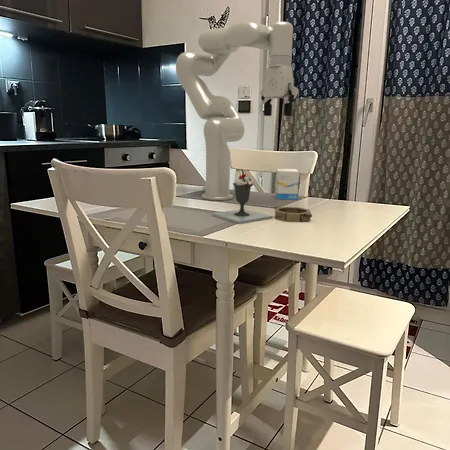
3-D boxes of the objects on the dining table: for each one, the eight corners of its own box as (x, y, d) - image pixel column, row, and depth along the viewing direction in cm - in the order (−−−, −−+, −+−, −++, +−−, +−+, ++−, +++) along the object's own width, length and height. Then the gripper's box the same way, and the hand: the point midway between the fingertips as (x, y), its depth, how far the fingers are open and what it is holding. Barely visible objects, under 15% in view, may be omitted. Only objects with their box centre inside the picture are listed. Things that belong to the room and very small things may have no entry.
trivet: (211, 215, 142) (211, 213, 142) (244, 211, 150) (244, 208, 150) (239, 224, 131) (239, 221, 131) (272, 218, 140) (272, 216, 139)
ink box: (297, 200, 174) (299, 170, 171) (276, 199, 174) (278, 170, 171) (294, 196, 182) (296, 168, 179) (274, 196, 182) (276, 168, 179)
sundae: (235, 217, 136) (237, 169, 133) (228, 213, 143) (229, 167, 139) (255, 216, 138) (257, 169, 135) (247, 212, 145) (249, 167, 141)
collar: (264, 215, 143) (264, 208, 143) (287, 212, 150) (288, 204, 149) (297, 224, 132) (297, 216, 131) (321, 220, 139) (322, 212, 138)
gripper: (254, 64, 149) (252, 115, 153) (291, 59, 136) (288, 115, 140) (269, 66, 153) (267, 116, 157) (307, 61, 140) (303, 116, 144)
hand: (277, 115), depth 148 cm, fingers open, 9 cm apart
